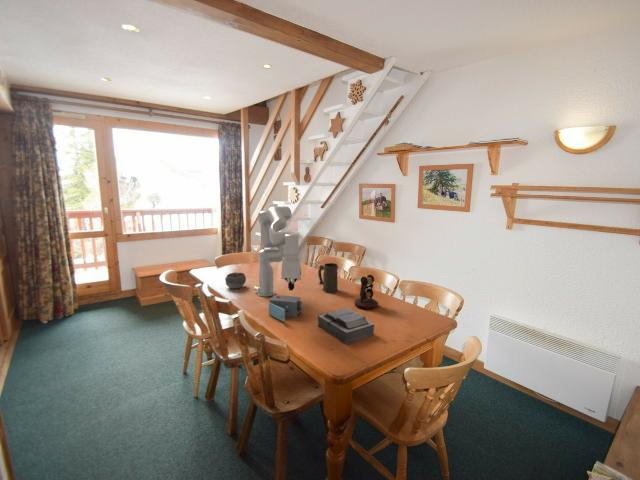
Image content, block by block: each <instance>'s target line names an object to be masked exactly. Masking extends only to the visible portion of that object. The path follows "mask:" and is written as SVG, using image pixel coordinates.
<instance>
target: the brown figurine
mask: <svg viewBox="0 0 640 480" xmlns="http://www.w3.org/2000/svg"><path fill="white" fill-rule="evenodd" d="M374 282H375V277H374V276H373V275H372V274H369V275H367V276H361V278H360V284H361V285H360V290H359V297H358V298H356V299H354V306H357V307H359V308H364V309H366V310H369V309H373V308H376V307H378V305H379V302H378V301H377V300H375V299H374V298H373V296H374V291H373V288H374Z"/></svg>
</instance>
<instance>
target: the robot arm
mask: <svg viewBox="0 0 640 480" xmlns="http://www.w3.org/2000/svg"><path fill="white" fill-rule="evenodd" d="M257 214H258V215H257V219H258V224H259V228H260V241H259V242H260V246H261V247H262V248H263V249H260V250H259V251H258V252H257V259H258V269H259V276H258V277H259V286H254V287H253V290H254V291H257V293H256V294H257V295H258V296H259V297H271V296H272V297H273V296H274V295H277V293H276V291H275V290H274V268H273V266H272V265H271V263H281V262H282V263H281V270H280V274H281V275H280V276H281V279H282V280H285V281H286V282H287V285H288V287H287V288H288V290H289V291H291V292H292V291H293V290H294V289H295V283H296V282H297V281H298V282H299V281H301V280H302V277H301V276H302V266H301V265H302V264H301V260H300V257H299V256H300V255H299V253H300V252H299V249H300V248H299V247H300V246H299V241H300V237H299V235H298V234H297V233H296V232H295V231H290V230H289V231H282V230H284V229H285V228H286V227H287V224H288V223H287V222H288V221H290V220H291V219H292V216H293V215H292V214H293V213H292V210H291V209H290V207H288V206H272V207H270V208H268V210H267V209H266V210H260V211H259V212H258V213H257ZM291 279H292V280H291Z"/></svg>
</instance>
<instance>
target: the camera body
mask: <svg viewBox="0 0 640 480" xmlns="http://www.w3.org/2000/svg"><path fill="white" fill-rule="evenodd" d="M269 303H272V304H274V305H276V306H278V307H281V308H283V309H285V317H290V318H297V317H298V315H299V313H300V312H301V311H302V310H303V308H304V307H303V306H304V303H303V301H302V300H301V296H295V295H293V296H292V295H291V296H290V295H279V294H275V295H273V296H272V297H271V298H270V299H269Z"/></svg>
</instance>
